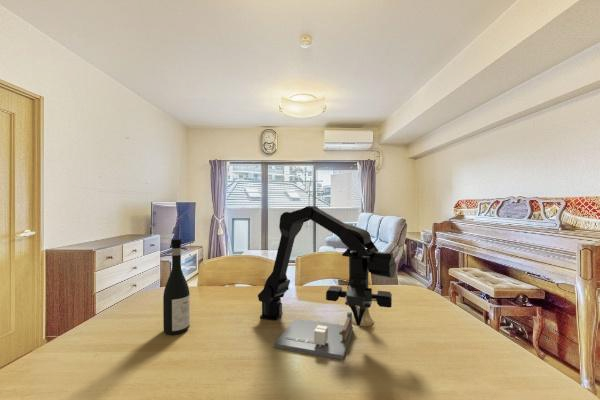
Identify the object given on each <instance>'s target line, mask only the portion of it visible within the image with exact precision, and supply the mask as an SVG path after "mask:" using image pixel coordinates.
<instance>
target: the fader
mask: <svg viewBox="0 0 600 400" xmlns="http://www.w3.org/2000/svg"><path fill="white" fill-rule="evenodd" d="M327 339H328V326H321V325H318V326H317V327H316V329H315V330H314V344H319V345H325V343H326V341H327Z"/></svg>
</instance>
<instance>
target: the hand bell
mask: <svg viewBox="0 0 600 400" xmlns="http://www.w3.org/2000/svg"><path fill="white" fill-rule="evenodd" d="M369 309H370V308H366V310H365V312H364V314H363V317H362V320H361V323H360V325H357V323H356V321H355V318H354V315H353V314H352V325H355V326H357V327H371V326H372V325H374V323H375V321H374V318H373V317H371V315H370V311H369ZM358 312H360V307H359V306H358Z"/></svg>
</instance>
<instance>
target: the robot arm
mask: <svg viewBox="0 0 600 400" xmlns="http://www.w3.org/2000/svg"><path fill="white" fill-rule="evenodd" d="M310 220H311V221H312V222H314V223H315V224H317V225H318V226H321V227H323V228H324V229H326V230H327V231H328V232H331V233H332V234H334V235H335V236H337V238H339V240H340V241H341V242H342V244H344V245H345V246H346V247H347V249H346V250H345V251H344V252H343V253H342V254H341V255H342V257H345V258H346V257H348V284H347V288H346V290H343V287H342V286H337V285H335V286H334V285H331V286H329V287H328V288H327V290H326V292H325V300H326V301H329V302H330V301H331V302H337V301H338V300H339V298H344V299H345V301H344V302H345V304H344V305H346V306H348V307H349V308H350V310H351V313H352V316H353V315H354V318H355V321H356V323H357V325H360V323H361V320H362V317H363V314H364V312H365V310H366V308H368V309H370V308H371V306H372V302H376V304H377V305H378V306H379V307H383V308H392V305H393V304H392V303H393V302H392V301H393V300H392V299H393V297H392V296H393V293H391V291H384V290H377V294H376V293H373V289H372V287H369V273H370V274H371V275H372V276H377V277H383V278H389V279H393V278H394V277H395V275H396V270H397V263H396V260H395V257H394V253H393V252H389V251H388V252H381V251H379V249H378V248H377V246H376V245H375V243H374V242H373V241H372V237H371V234H370V233H369V231H367V230H366V229H364V228H360V227H358V226H355V225H354V226H353V225H350V224H347V223H344V222H343V221H341V220H339V219H338V218H336V217H334V216H333V215H330V214H329V213H328V212H326V211H324V210H322V209H320V208H319V207H317V206H316V205H306V206H305V207H303V208H300V209H296V210H294V211H293V210H292V211H285V212H283V213H281V215H280V216H279V225H278V227H279V232H280V235H281V236H280V239H279V243H278V247H277V251H276V255H275V260H274V264H273V267H272V272H271V273H270V274H269V276H268V277H267V278H266V280H265V283H264V285H263V289H262V290H261V291H260V292H259V293H258V294H257V298H258V301H259V302H260V303H261V315H260V316H259V318H260V319H266V320H272V321H277V320H278V319H279V318H280V317H281V316H282V315H283V314H284V313H283V303H282V299H281V298H284V297H285V294H286V292H287V291H288V290H289V288H290V287H289V286H290V283H291V280H290V279H288V277H287V271H288V267H289V263H290V259H291V254H292V251H293V247H294V243H295V239H296V237H297V235H298V234H299V233H300V231H302V228H303V225H304V223H306V222H308V221H310ZM358 306H359V307H360V312H358ZM357 325H356V326H357Z"/></svg>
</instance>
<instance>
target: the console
mask: <svg viewBox="0 0 600 400" xmlns="http://www.w3.org/2000/svg"><path fill="white" fill-rule="evenodd" d="M352 316H353V312H352V311H347V313H346V318H347V317H351V328H350V331H349V334H348V337H347V340H346V342H342V335H340V334H339V333H340V331H342V329H343V327H344V324H336V323H329V322H321V321H318V320H317V321H316V320H309V319H302V318H301V319H300V318H294V319H293V320H292V322H291V323H290V324H289V325H288V326H287V327H286V329H285V330H284V331H283V332H282V333H281V335H280V336H279V337H278V338H277V340H275V342H274V344H273V348H276V349H280V350H281V349H282V350H286V351H292V352H298V353H302V354H303V353H304V354H307V355H314V356H319V357H325V358H330V359H335V360H341V361H343V360H344V358H345V354H346V352H347V348H348V346H349V344H350V341H351V340H350V339H351V336H352V334H353V331H354V329H353V328H354V327H353V323H352ZM318 325H321V326H328V339H327V341H326V343H325V345H319V344H314V330H315V329H316V327H317V326H318Z"/></svg>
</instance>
